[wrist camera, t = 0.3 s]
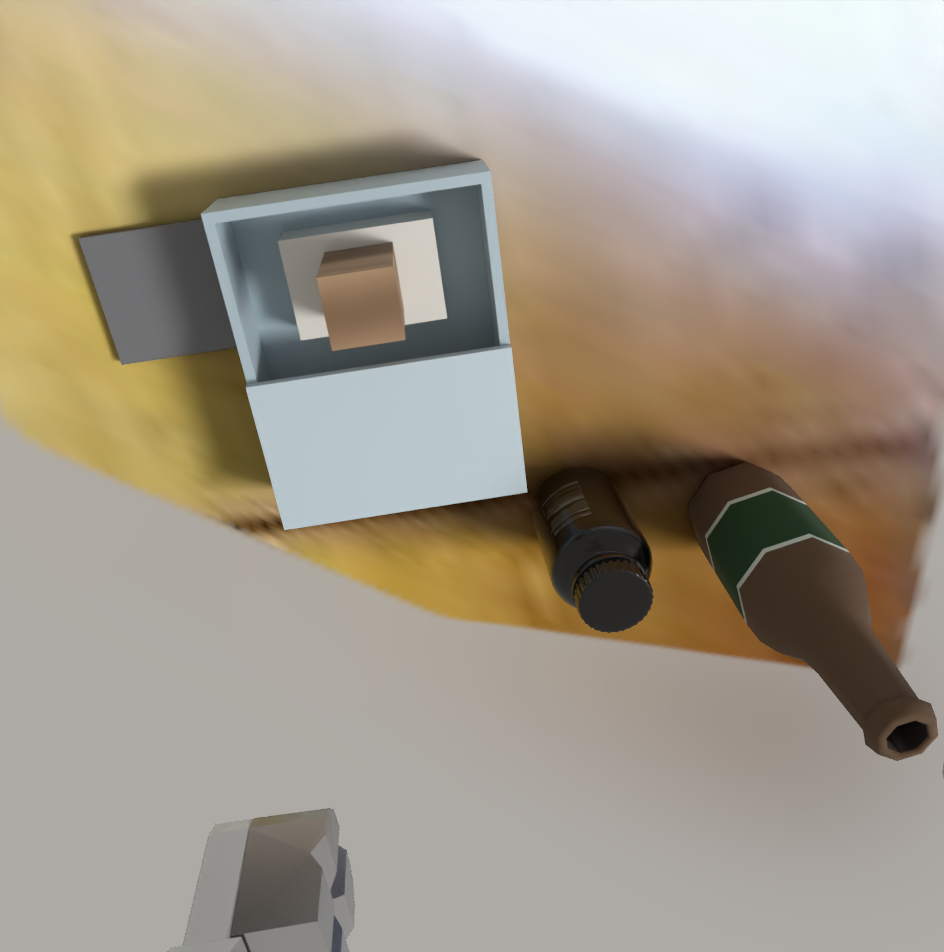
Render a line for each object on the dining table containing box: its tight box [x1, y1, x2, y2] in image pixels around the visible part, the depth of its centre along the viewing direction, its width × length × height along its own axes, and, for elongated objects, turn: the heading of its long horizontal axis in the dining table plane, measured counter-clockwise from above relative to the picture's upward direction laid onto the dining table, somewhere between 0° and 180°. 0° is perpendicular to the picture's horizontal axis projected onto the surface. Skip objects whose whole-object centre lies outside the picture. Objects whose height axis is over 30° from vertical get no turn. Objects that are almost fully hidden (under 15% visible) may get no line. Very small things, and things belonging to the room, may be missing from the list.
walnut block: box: [316, 242, 405, 351], centre depth 47 cm, size 4×4×6 cm
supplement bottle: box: [532, 469, 653, 633], centre depth 57 cm, size 7×7×12 cm
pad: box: [79, 219, 237, 365], centre depth 52 cm, size 8×8×1 cm
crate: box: [201, 160, 527, 530], centre depth 52 cm, size 20×16×6 cm
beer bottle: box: [688, 462, 938, 761], centre depth 53 cm, size 8×8×24 cm
